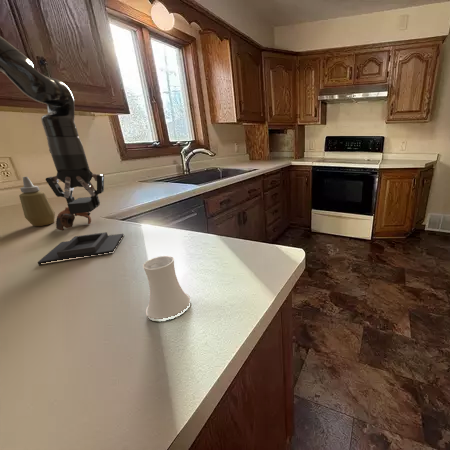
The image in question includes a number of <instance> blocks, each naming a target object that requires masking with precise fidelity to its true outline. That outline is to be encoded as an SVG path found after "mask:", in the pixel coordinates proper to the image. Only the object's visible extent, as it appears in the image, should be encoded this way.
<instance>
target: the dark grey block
mask: <svg viewBox="0 0 450 450" xmlns="http://www.w3.org/2000/svg"><path fill="white" fill-rule="evenodd" d="M66 204H67V207H68V208H69V211H70V214H74V213H84V212H89V213H92V212H93V211H94V210H95V209H96V208H94V206H93V203H92V200H91V196H84V197H78V198H76V199H75V200H74V201H72V202H70V203H69V204H68V203H66ZM99 206H100V205H98V207H99ZM74 215H75V214H74Z"/></svg>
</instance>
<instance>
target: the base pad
mask: <svg viewBox="0 0 450 450" xmlns="http://www.w3.org/2000/svg"><path fill="white" fill-rule="evenodd" d="M123 235H124V233H118V234H111V235H110V234H109V235H108V232H106V231H105V232H99V233H90V234H83V235H76V236H73V237H72V238H71V239H70V240H66V241H61V242H59V243H58V245H56V246H55V247H54V248H52V249H51V250H50V251H49V252H48V253H47V254H45V255H44V256H43V257H42V258H41V259H39V260H38V261H37V264H41V263H46V262H51V261H57V260H63V259H69V258H76V257H84V256H91V255H98V254H104V253H109V252H113V251H114V249H115V248H116V246H117V245H118V243H119V241H120V240H121V238H122V237H123ZM123 238H124V237H123ZM121 241H122V240H121ZM119 244H120V243H119ZM118 246H119V245H118ZM116 249H117V248H116ZM114 252H115V251H114Z"/></svg>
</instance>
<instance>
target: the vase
mask: <svg viewBox="0 0 450 450" xmlns="http://www.w3.org/2000/svg"><path fill="white" fill-rule="evenodd" d="M142 268H143V271H144V272H145V275H146V277H147V281H148V286H149V300H148V305H147V306H146V309H145V314H146V317H147V316H148V317H150V318H154V319H163V318H168V317H171V316H175V315H177V314H178V313H181V311H182V312H183V310H184V309H186V308H187V306H189V303H190V300H191V297H190V295H189V294H187V293H186V292H185V290H183V288H182V286H181V285H180V282H179V280H178V278H177V275H176V274H177V273H176V270H175V258H174V257H173V256H169V255H160V256H156V257H153V258H151V259H148V260H147V261H145V262H144V263H142Z"/></svg>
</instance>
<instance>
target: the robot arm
mask: <svg viewBox="0 0 450 450" xmlns="http://www.w3.org/2000/svg"><path fill="white" fill-rule="evenodd" d="M0 72H1V73H3V74H4V75H5V76H6V77H7V78H8V80H10V81H11V82H12V83H13V85H15V86H16V87H17V89H18V90H20V92H22V93H23V94H24V95H25V96H27V97H28V98H30V99H32V100H33V101H35V102H38V103H40V104H44V105H46V109H47V113H45V114H43V115H42V116H41V118H40V121H41V125H42V127H43V128H42V129H43V131H44V133H45V137H46V141H47V146H48V151H49V153H50V155H51V158H52V161H53V165H54V167H55V170H56V175H54V176H48V177H45V181H46V183H47V185H48V186H49V187H50V189H51V191H52V192H53V194H54V195H55V196H56V197H57V198H60V197H61V198H65V200H66V204H69V203H70V202H72V201H74V200H76V199H75V196H73V194H74V190H75V188H77V187H78V188H84V190H85V191H87V192H88V194H89V195H90V197H91V200H92V203H93V206H94V208H95V209H96V208H98V207H99V206H100V205H101V204H100V203H101V201H100V198H99V195H101V194H102V193H104V192H105V175H104V174H102V173H100V174H97V173H93V172H92V171H91V169H90V166H89V162H88V159H87V156H86V152H85V149H84V145H83V142H82V141H81V138H80V135H79V132H78V128H77V126H76V123H75V117H76V115H75V114H76V113H75V99H74V95H73V93H72V91H71V90H70V89H71V88H69V87H68V85H66V84H65V82H63V81H62V80H59V79H58V78H54V77H50V76H47V75H44V74H43V73H41V72H40V71H38V70H37V69H36V68H35V66H34V64H33V62H32V61H31V60H30V59H29V58H28V57H27V56H26V55H25V54H24V53H23V52H21V51H20V50H19V49H18V48H16V47H15V46H14V45H12V44H11V43H10V42H9V41H7V40H6V39H5V38H3V37H2V36H1V35H0ZM92 179H94V181H95V182H96V188H95V186H94V185H93V184H92V182H91V181H92ZM59 182H62V183H63V184H64V189H62V187H61V185H60V184H59ZM98 205H99V206H98Z"/></svg>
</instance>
